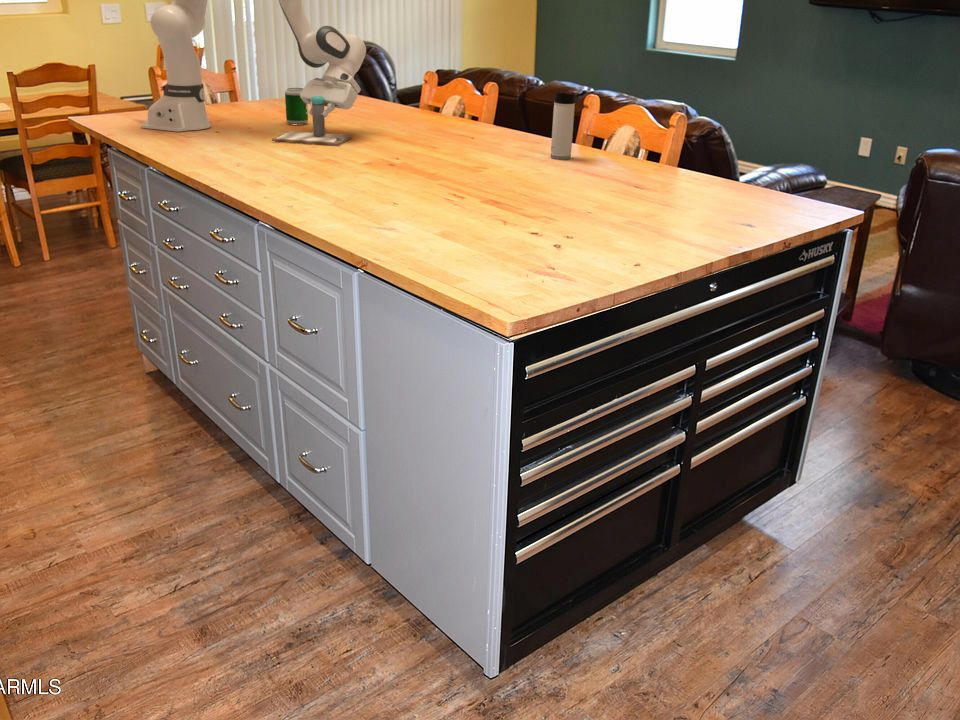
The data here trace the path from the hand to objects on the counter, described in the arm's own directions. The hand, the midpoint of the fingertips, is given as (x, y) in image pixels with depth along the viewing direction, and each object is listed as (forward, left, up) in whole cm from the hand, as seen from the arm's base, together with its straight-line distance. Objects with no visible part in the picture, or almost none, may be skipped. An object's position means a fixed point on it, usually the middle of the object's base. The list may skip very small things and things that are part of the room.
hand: (317, 115), depth 289 cm
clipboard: (-2, 0, -8) cm, 8 cm away
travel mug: (+79, -4, -8) cm, 80 cm away
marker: (0, +1, -6) cm, 6 cm away
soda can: (-16, +26, -8) cm, 31 cm away
